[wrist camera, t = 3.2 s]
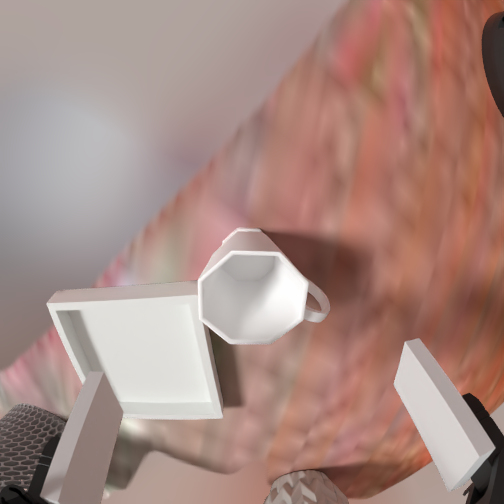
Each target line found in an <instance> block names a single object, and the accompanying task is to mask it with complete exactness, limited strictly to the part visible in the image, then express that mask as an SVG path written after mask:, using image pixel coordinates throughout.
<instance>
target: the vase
mask: <svg viewBox="0 0 504 504" xmlns="http://www.w3.org/2000/svg"><path fill="white" fill-rule="evenodd" d="M264 504H349V502H348V499H347V497H346V496H345V495H344V494H343V493H342V492H341V490H340V489H339V488H338V487H337V486H336V485H334V484H333V483H332V481H330V480H329V478H328V477H327V476H326V475H325V474H324V473H323V472H320V471H315V470H306V471H298V472H293V473H289V474H287V475H283V476H281V477H279V478H278V479H277V480H275V481H274V483H273V484H272V487H271V490H270V494H269V495H268V496H267V498H266V499H265V502H264Z"/></svg>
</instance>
